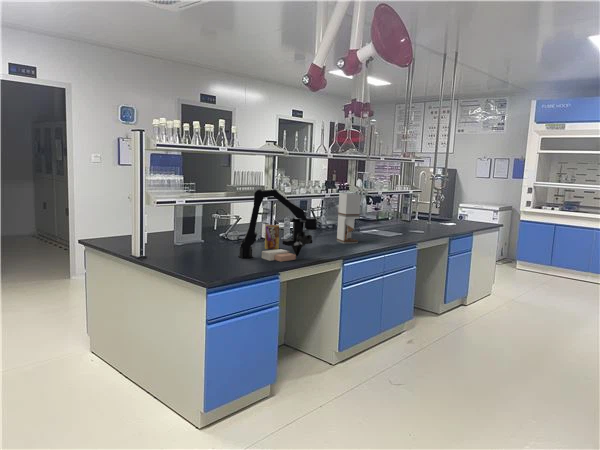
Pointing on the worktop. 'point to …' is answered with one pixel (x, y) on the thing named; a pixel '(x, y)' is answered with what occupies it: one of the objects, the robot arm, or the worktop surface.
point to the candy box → (272, 237)
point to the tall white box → (347, 216)
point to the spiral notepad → (272, 254)
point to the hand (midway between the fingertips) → (296, 256)
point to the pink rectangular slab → (285, 257)
